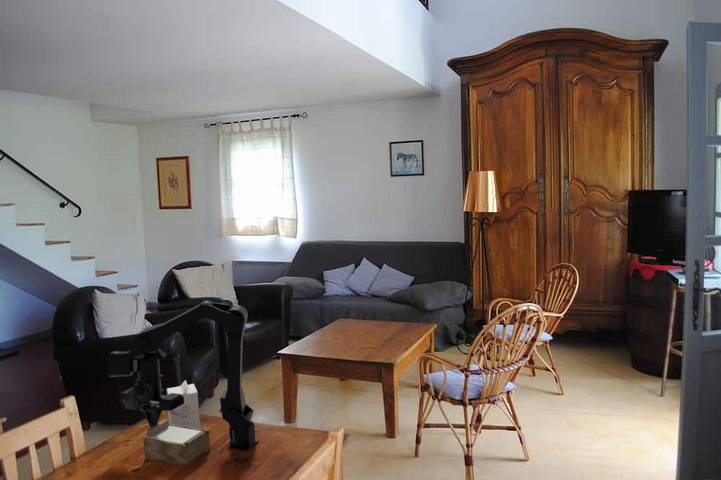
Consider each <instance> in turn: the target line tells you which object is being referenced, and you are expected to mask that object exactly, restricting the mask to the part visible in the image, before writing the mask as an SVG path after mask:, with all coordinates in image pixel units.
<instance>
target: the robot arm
mask: <svg viewBox="0 0 721 480" xmlns="http://www.w3.org/2000/svg"><path fill="white" fill-rule="evenodd" d="M248 316H249V314H248V310H247V309H246V307H244V306H242V305H239V304H235V305H229V304H227V303H226V304H225V303H219V302H213V301H211V300H204V301H202V302H201V303H200V304H198V305H196V306H194V307H193V308H191V309H189V310H186V311H185V312H183V313H181V314H179V315H177V316H175V317H174V318H171V319H169V320H168V321H165V322H163V323H159V324H155V325H151V326H148V327H145V328H143V329H142V330H141V331H140V332H138V333H137V334H136V335H135V336H134V338H133V341H132V347H131V349H130V350H129V351H115V350H114V351H111V352H109V356H108V357H109V358H108V361H107V367H106V370H107V371H106V372H107V375H108V377H110V378H113V377H114V378H116V377H117V378H118V377H131V376H133V374H134V373H135V372H137V375H138V376H137V377H138V378H137V379H135V382H134V387H130V388H129V389H126V390H124V391H122V392H120V394H119V396H118V404H121V405H124V407H125V409H126V410H133V411H141V412H142V413H143V415H144V417H145V419H146V421H147V423H148V425H149V428H151V427H153V426H154V425H156V424H158V423H159V420H160V418H161V415H162V413H163V411H167V412H168V411H171V410H174V409H175V408H177V407H179V406H181V405H183V404H184V396H183V395H182V394H176V393H170V394H169V395H167V394H166V395H163V394H165V392H166V391H165V389H163V388H162V380H164V377H165V376H164V375H163V374H161V370H160V369H161V368H160V360H163V359H164V358H165V357H166V356H167V353H166V352H165V351H163V350H162V349H161V348H158V349H157V350H156V351H153V350H154V349H155V348H156V347H157V346H159V345H160V344H161V343H163V342H164V341H166V340H167V338H169V337H170V336H173V335H174V334H176V333H178V332H180V331H182V330H184V329H186V328H187V327H190V326H191V325H194V324H195V323H197V322H199V321H201V320H202V319H208V320H211V321H212V322H215V323H217V324H219V325H223V326H224V332H225V334H226V338H227V374H226V376H227V378H226V379H227V381H226V382H227V383H226V390H223V392H222V393H221V395H220V398H219V401H220V402H219V403H220V409H219V414H221V417H222V419H223V420H224V421H226V422H227V423H228V425H229V429H228V432H229V433H228V434H229V435H228V437H229V444H227V448H231V449H236V450H239V451H240V450H241V451H248V450H249V449H251V448H252V447H253V446H254V445H256V444H257V443H258V442H259V438H256V427H255V422H253V421H252V418H253V415H254V412H255V411H254V409H253V408H251V407H250V406H249V405H248V404H247V403H246V398H245V397H246V396H245V392H244V389H243V386H242V383H243V381H242V379H243V346H244V345H243V342H244V341H243V338H244V334H245V331H246V325H247V321H248Z"/></svg>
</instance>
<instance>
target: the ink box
mask: <svg viewBox="0 0 721 480" xmlns="http://www.w3.org/2000/svg"><path fill="white" fill-rule="evenodd" d="M170 393H176V394H182V395H183V396H184V404H183V405H181V406H179V407H177V408H175V409H174V410H171V411H167V415H168V418H167V420H168V423H169V424H174V425H180V426H186V427H193V428H199V429H201V422H200V409H199V397H198V393H199V392H198V390H197V388H196V386H195V384H194V383H191V384H188V383H187V380H184V381H183V382H182V383H181V384H180V385H179V386H175V387H174V386H173V387H168V388H166V396H167V395H169V394H170Z"/></svg>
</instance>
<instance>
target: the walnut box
mask: <svg viewBox="0 0 721 480" xmlns="http://www.w3.org/2000/svg"><path fill="white" fill-rule="evenodd" d="M169 426H174V427H180V428H186V429H193V430H199V431H202V432H201V433H199V434H198V435H196V436H195V437H193V438H192V439H190V440H188V441H187V442H185V445H184V444H179V443H173V442H167V441H162V440H156V439H150V438H145V437H143V438H142V439H143V449H144V459H145V460H148V461H154V462H157V463H163V464H168V465H174V466H178V467H185V468H188V467H189V466H191V465H192V464H193V463H194V462H196V461H198V460H199V459H201V458H202V457H203V456H204V455H205V454H207V453H208V452H210V451H211V445H210V444H211V443H210V430H209V429H205V428H193V427H186V426H180V425H174V424H169Z"/></svg>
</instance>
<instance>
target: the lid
mask: <svg viewBox="0 0 721 480" xmlns="http://www.w3.org/2000/svg"><path fill="white" fill-rule="evenodd" d="M146 431H147V435H145V436H144V438H150V439H156V440H162V441H167V442H173V443H179V444H184V445H185V442H187V441H188V440H190V439H192V438H193V437H195V436H196V435H198V434H199V433H201V432H202V431H199V430H193V429H186V428H180V427H174V426H169V419H162V421H160V422H158V423H157V424H156V425H154V426H153V427H151V428H150V427H149V428H147V429H146Z"/></svg>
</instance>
